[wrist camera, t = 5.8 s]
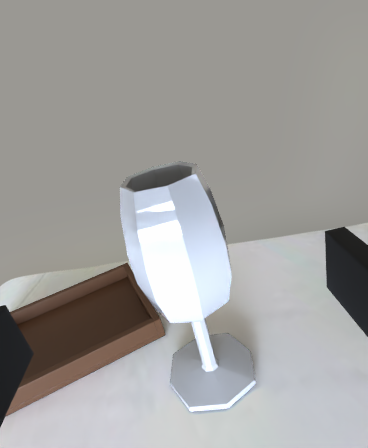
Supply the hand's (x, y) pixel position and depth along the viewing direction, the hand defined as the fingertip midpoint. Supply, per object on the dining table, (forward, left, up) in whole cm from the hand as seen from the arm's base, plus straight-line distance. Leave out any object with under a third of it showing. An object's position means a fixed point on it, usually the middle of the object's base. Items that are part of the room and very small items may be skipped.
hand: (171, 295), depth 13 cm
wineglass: (-4, -11, -19) cm, 23 cm away
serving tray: (+9, -26, -19) cm, 34 cm away
